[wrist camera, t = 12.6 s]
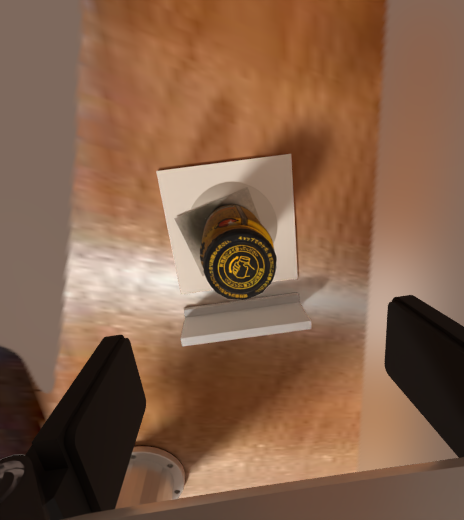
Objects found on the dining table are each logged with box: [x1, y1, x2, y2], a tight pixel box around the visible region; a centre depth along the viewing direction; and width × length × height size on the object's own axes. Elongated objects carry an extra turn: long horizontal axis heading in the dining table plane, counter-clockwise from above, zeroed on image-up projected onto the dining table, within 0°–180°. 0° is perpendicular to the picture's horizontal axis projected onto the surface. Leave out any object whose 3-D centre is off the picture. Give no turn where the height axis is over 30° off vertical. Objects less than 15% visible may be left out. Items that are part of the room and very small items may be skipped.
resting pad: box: [156, 154, 298, 294], centre depth 30 cm, size 14×14×1 cm
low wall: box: [181, 293, 311, 346], centre depth 32 cm, size 3×14×5 cm, turn 97°
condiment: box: [174, 187, 277, 300], centre depth 25 cm, size 7×8×12 cm
